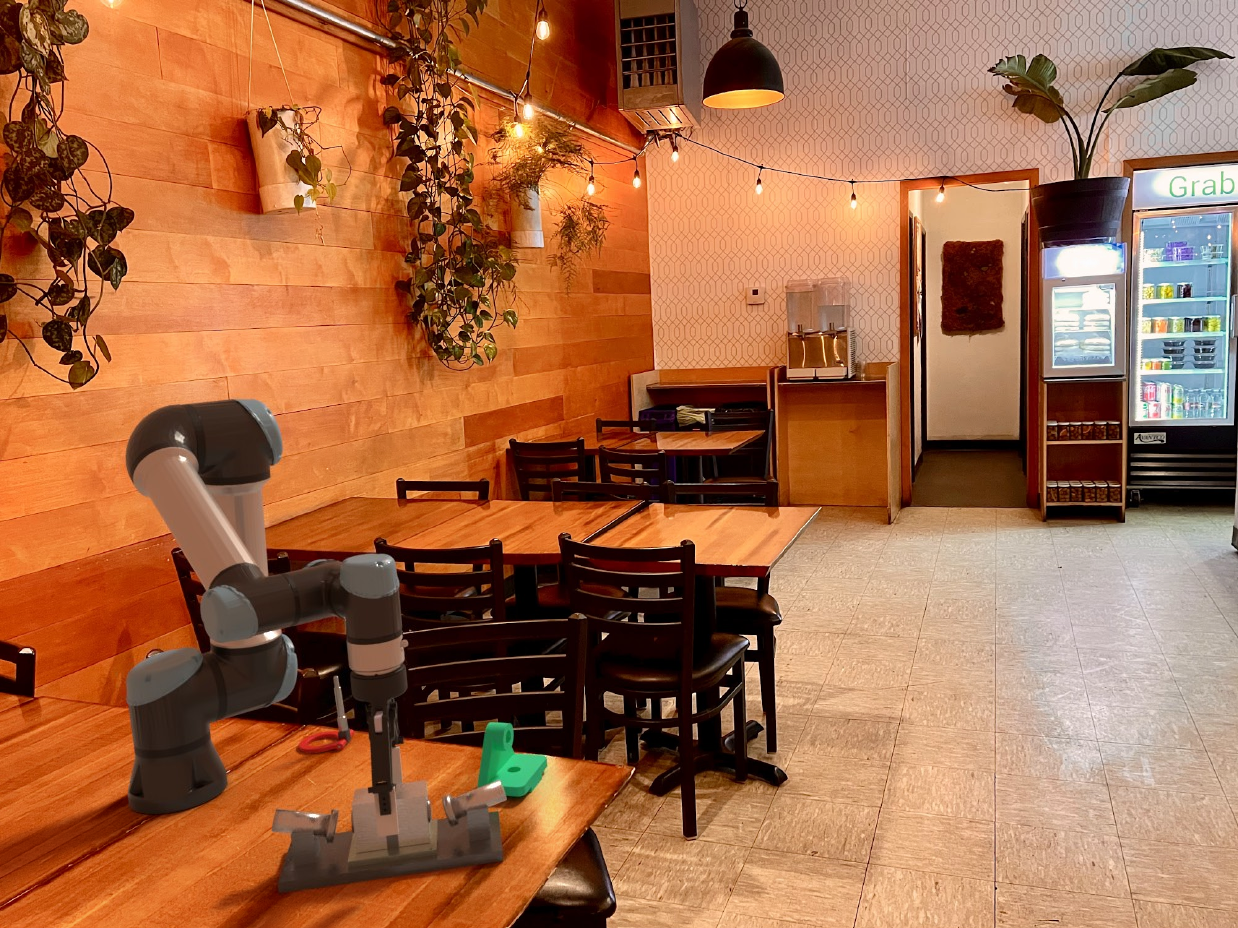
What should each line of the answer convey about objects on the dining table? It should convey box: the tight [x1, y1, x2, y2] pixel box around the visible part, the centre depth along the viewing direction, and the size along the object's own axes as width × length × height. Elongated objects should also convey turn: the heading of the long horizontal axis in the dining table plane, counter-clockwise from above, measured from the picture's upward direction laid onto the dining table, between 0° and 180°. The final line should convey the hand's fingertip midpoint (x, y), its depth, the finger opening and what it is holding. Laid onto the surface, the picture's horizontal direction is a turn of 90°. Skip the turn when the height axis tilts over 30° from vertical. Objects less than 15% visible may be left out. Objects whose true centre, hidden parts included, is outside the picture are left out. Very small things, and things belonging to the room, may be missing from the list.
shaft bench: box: [271, 780, 508, 894], centre depth 140 cm, size 32×12×9 cm, turn 100°
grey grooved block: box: [350, 780, 433, 853], centre depth 140 cm, size 11×5×7 cm, turn 100°
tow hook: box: [298, 675, 355, 754], centre depth 182 cm, size 8×13×9 cm
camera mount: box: [477, 721, 548, 797], centre depth 161 cm, size 12×8×10 cm, turn 164°
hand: (391, 811), depth 140 cm, fingers open, 13 cm apart
